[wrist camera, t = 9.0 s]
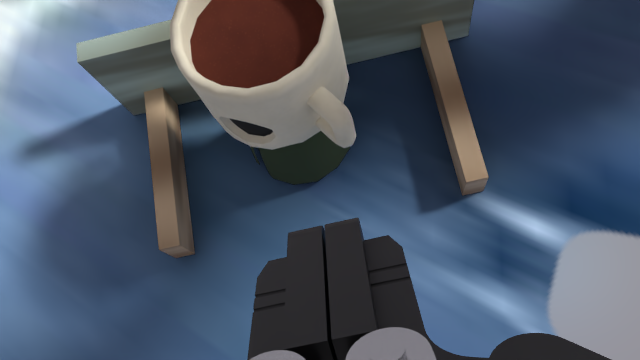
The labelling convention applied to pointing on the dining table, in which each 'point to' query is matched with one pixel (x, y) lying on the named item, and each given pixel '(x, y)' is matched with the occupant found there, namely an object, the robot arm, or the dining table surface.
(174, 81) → the oak dock
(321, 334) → the robot arm
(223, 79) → the character mug
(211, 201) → the dining table surface
